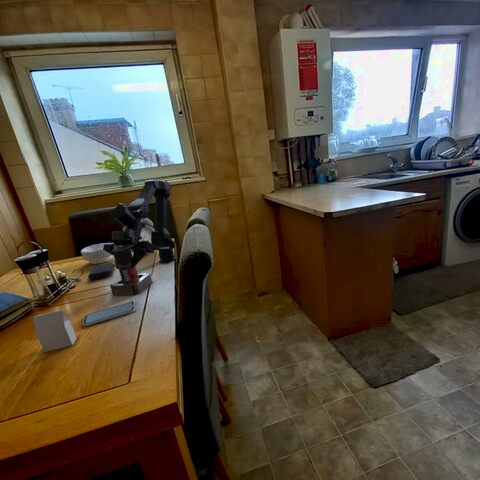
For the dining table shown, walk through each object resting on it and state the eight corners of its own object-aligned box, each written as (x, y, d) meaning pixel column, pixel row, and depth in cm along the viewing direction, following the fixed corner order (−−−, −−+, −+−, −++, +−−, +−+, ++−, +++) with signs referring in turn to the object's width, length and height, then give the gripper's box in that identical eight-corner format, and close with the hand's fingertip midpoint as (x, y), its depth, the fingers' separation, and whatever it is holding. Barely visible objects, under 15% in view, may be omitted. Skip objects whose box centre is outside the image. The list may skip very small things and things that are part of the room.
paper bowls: (107, 264, 142) (102, 250, 139) (79, 267, 143) (73, 253, 140) (122, 254, 156) (118, 241, 153) (96, 257, 157) (91, 244, 154)
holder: (128, 282, 115) (125, 273, 114) (153, 281, 113) (151, 272, 112) (110, 295, 105) (107, 286, 103) (138, 294, 103) (135, 285, 101)
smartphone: (85, 314, 90) (134, 300, 96) (85, 317, 91) (134, 302, 96) (82, 325, 84) (134, 309, 90) (83, 327, 84) (135, 311, 90)
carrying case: (115, 276, 124) (117, 266, 137) (113, 269, 123) (115, 260, 136) (88, 282, 121) (93, 271, 134) (86, 275, 120) (91, 265, 133)
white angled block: (72, 345, 76) (59, 313, 73) (44, 352, 74) (29, 320, 71) (76, 337, 79) (64, 307, 76) (50, 344, 78) (35, 313, 74)
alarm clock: (136, 260, 143) (124, 218, 135) (127, 259, 147) (115, 218, 140) (162, 250, 155) (153, 211, 147) (153, 249, 160) (143, 211, 152)
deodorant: (124, 289, 105) (112, 252, 99) (124, 284, 110) (112, 248, 104) (141, 285, 107) (130, 248, 102) (139, 280, 112) (129, 245, 107)
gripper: (97, 223, 105) (86, 261, 99) (143, 219, 102) (134, 258, 96) (117, 237, 115) (108, 272, 109) (158, 234, 112) (151, 270, 106)
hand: (124, 268), depth 105 cm, fingers closed on deodorant, 6 cm apart
